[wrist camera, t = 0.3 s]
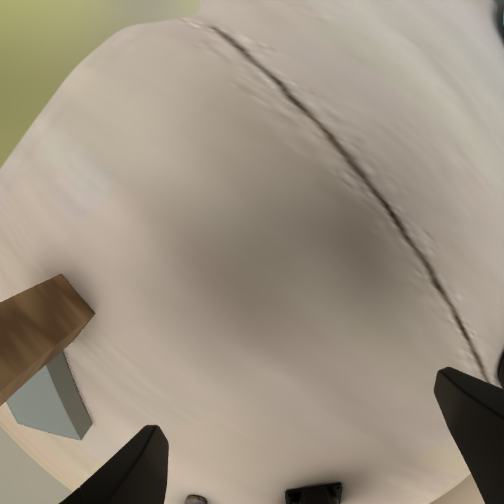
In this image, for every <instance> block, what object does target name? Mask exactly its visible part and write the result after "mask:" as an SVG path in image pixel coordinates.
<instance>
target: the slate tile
mask: <svg viewBox="0 0 504 504" xmlns="http://www.w3.org/2000/svg"><path fill="white" fill-rule="evenodd" d="M6 402H7V404H8V406H9V408H10V410H11V412H12V414H13V416H14V418H15V420H16V421H17V423H18V424H21V425H24V426H27V427H31V428H34V429H37V430H41V431H44V432H48V433H51V434H55V435H59V436H63V437H67V438H72V439H76V440H82V438H83V437H84V435H85V434H86V432H87V431H88V429H89V428H90V426H91V425H92V421H91V419H90V417H89V415H88V413H87V411H86V409H85V406H84V404H83V402H82V400H81V397H80V395H79V393H78V390H77V388H76V385H75V383H74V380H73V378H72V375H71V373H70V370H69V367H68V365H67V362H66V359H65V356H64V353H63V350H62V351H61V352H60V353H59V354H58V355H56V356H55V357H54V358H53V359H52V360H51V361H50V362H48V363H47V364H46V365H45V366H44V367H43V368H42V369H41V370H39V371H38V372H37V373H36V374H35V375H34V376H33V377H32V378H31V379H29V380H28V381H27V382H26V383H25V384H24V385H23V386H22V387H21V388H19V389H18V390H17V391H16V392H15V393H14V394H13V395H12V396H11V397H10V398H9V399H8V400H7V401H6Z"/></svg>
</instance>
